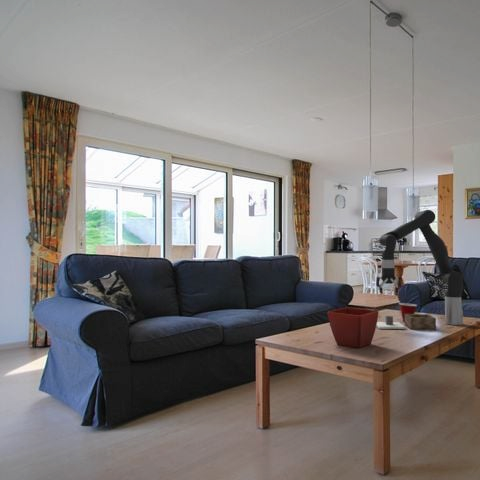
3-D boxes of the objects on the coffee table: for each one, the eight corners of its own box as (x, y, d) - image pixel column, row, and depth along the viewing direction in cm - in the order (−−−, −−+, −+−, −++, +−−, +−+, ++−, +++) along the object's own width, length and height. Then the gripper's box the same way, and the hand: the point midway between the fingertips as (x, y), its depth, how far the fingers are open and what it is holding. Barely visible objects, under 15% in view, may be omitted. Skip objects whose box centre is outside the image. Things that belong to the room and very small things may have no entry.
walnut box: (428, 325, 258) (428, 314, 258) (436, 330, 244) (435, 318, 244) (404, 325, 260) (404, 313, 260) (411, 329, 246) (411, 317, 246)
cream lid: (398, 325, 261) (398, 314, 261) (405, 330, 246) (405, 318, 246) (374, 325, 263) (374, 313, 263) (379, 329, 248) (378, 318, 248)
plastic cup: (420, 323, 265) (419, 304, 265) (403, 323, 265) (402, 304, 265) (413, 320, 275) (413, 302, 276) (396, 320, 276) (396, 302, 276)
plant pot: (326, 344, 211) (326, 311, 211) (346, 338, 225) (346, 307, 225) (360, 351, 198) (360, 315, 198) (380, 344, 211) (379, 310, 211)
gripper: (398, 266, 258) (399, 292, 257) (374, 266, 259) (375, 293, 259) (401, 267, 250) (402, 294, 250) (377, 267, 252) (378, 294, 252)
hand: (388, 293), depth 254 cm, fingers open, 8 cm apart
